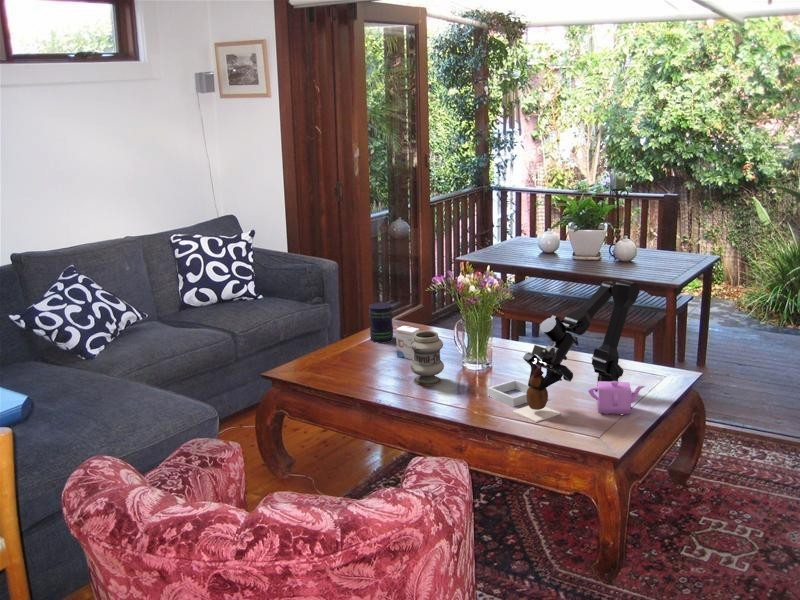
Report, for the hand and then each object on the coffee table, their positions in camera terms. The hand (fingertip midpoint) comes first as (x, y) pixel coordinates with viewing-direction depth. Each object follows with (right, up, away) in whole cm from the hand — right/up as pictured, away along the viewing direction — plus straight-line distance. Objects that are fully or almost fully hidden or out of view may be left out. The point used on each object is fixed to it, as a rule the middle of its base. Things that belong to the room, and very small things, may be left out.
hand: (533, 388), depth 278 cm
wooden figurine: (+1, -7, +2) cm, 7 cm away
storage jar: (-51, +12, +86) cm, 101 cm away
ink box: (-40, +6, +62) cm, 74 cm away
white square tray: (-4, -5, +17) cm, 19 cm away
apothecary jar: (-33, -1, +35) cm, 48 cm away
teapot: (+27, -8, +3) cm, 28 cm away
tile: (+1, -8, +3) cm, 9 cm away
